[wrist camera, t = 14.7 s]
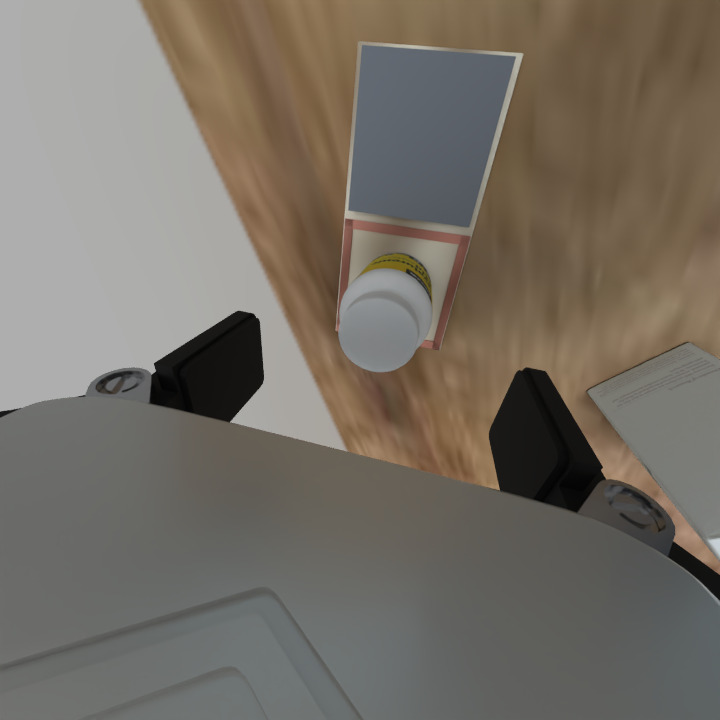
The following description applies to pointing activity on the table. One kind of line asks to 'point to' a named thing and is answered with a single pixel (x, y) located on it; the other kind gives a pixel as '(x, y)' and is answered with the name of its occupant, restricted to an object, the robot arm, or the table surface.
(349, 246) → the stamping board
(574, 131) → the table surface
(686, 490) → the supplement box
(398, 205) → the ink pad
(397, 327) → the supplement bottle
